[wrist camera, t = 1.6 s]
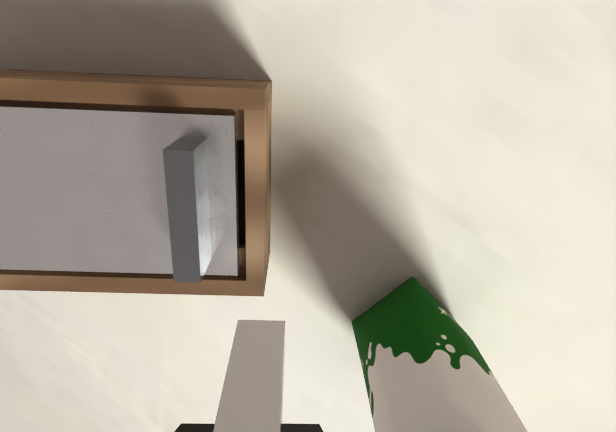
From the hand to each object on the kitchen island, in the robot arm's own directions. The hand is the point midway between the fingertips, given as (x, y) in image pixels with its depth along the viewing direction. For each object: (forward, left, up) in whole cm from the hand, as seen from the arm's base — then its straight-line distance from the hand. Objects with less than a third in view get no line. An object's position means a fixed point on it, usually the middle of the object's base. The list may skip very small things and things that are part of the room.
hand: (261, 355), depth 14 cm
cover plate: (0, -11, -15) cm, 19 cm away
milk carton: (+14, +12, -21) cm, 28 cm away
